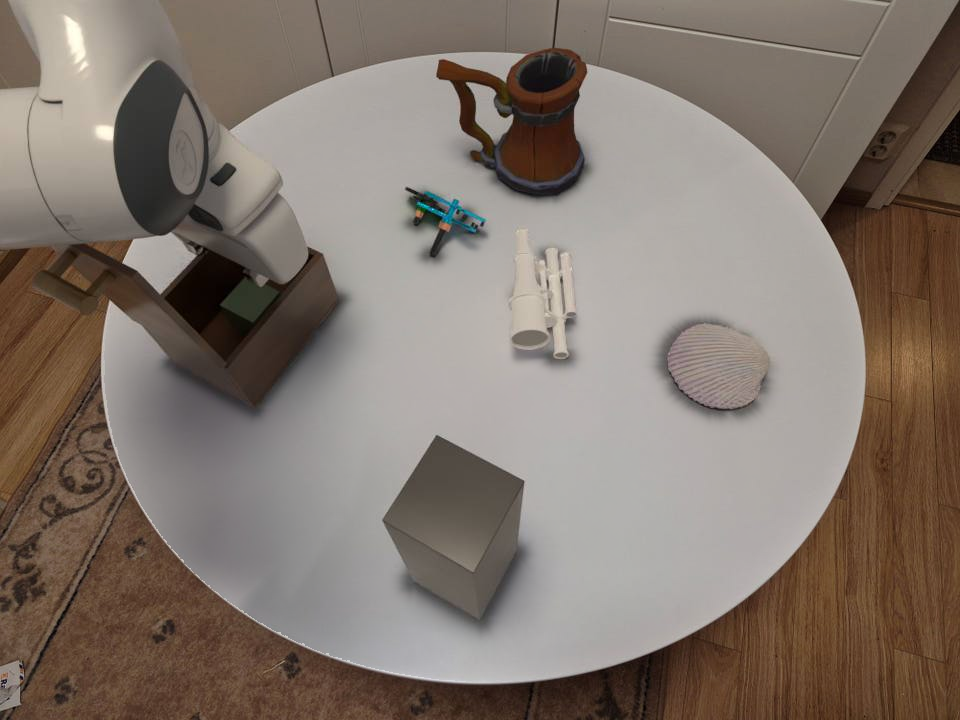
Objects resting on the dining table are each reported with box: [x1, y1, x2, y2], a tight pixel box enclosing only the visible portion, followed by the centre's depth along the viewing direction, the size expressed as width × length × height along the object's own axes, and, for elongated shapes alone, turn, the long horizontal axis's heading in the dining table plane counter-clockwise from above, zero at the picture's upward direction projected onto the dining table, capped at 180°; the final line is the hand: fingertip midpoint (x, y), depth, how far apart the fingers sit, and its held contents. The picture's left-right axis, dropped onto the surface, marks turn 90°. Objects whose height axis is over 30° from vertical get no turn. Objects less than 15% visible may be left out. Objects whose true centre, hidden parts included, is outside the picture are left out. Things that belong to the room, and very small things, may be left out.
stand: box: [381, 434, 526, 621], centre depth 54 cm, size 7×7×20 cm
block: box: [220, 277, 281, 335], centre depth 74 cm, size 4×4×4 cm
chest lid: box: [31, 243, 227, 369], centre depth 57 cm, size 16×11×4 cm
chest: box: [142, 245, 341, 409], centre depth 72 cm, size 15×11×9 cm
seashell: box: [666, 322, 772, 410], centre depth 71 cm, size 10×6×10 cm
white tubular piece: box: [508, 228, 578, 360], centre depth 74 cm, size 8×14×5 cm
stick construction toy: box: [404, 186, 487, 257], centre depth 81 cm, size 12×7×8 cm
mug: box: [435, 47, 588, 195], centre depth 81 cm, size 18×12×15 cm, turn 83°
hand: (230, 264), depth 66 cm, fingers open, 6 cm apart
